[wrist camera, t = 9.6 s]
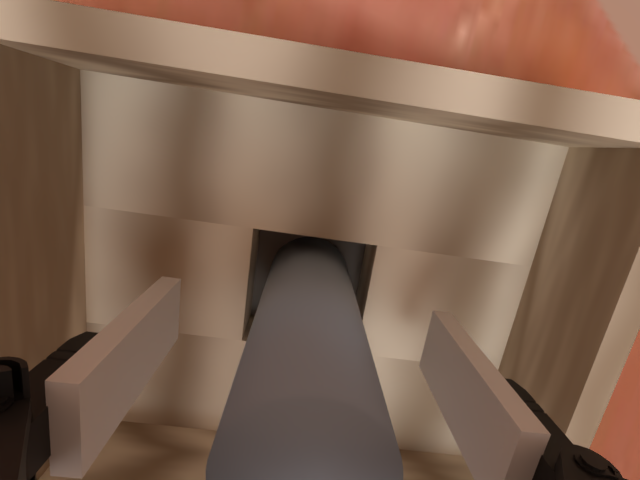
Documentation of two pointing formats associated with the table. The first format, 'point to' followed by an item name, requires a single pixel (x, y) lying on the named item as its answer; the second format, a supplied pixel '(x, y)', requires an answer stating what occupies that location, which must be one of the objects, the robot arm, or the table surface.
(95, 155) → the peg box
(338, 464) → the peg
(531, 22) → the table surface
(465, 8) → the table surface
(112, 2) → the table surface
